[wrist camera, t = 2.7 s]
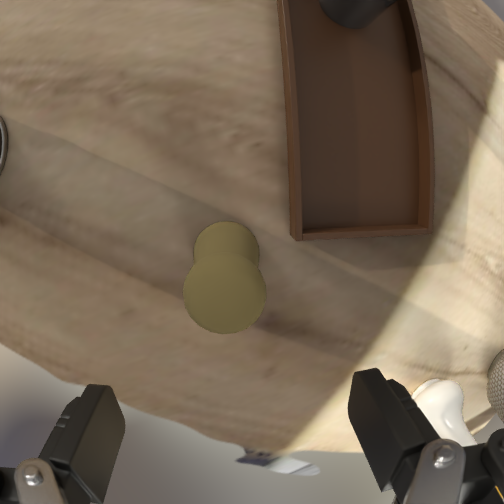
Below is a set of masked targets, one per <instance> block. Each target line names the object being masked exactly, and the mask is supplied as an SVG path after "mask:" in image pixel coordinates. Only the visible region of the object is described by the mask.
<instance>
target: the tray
mask: <svg viewBox="0 0 504 504" xmlns="http://www.w3.org/2000/svg"><path fill="white" fill-rule="evenodd" d="M277 6H278V17H279V27H280V39H281V51H282V64H283V77H284V92H285V109H286V127H287V147H288V171H289V202H290V235H291V236H292V237H293V238H294V239H295V240H296V241H302V240H303V241H306V240H324V239H342V238H360V237H379V236H398V235H418V234H432V231H433V215H434V187H435V165H434V136H433V121H432V110H431V100H430V92H429V84H428V77H427V70H426V64H425V58H424V53H423V48H422V43H421V38H420V33H419V29H418V25H417V21H416V17H415V13H414V9H413V5H412V2H411V0H397V1H396V2H395V3H394V4H393V5H392V6H390V7H389V8H388V9H387V10H386V11H385V12H384V13H382V14H381V15H380V16H379V17H378V18H377V19H376V20H375V21H373V22H372V23H371V24H370V25H369V26H367V27H365V28H362V29H351V28H346V27H343V26H341V25H339V24H337V23H335V22H334V21H332V20H331V19H330V18H329V17H328V16H327V15H326V14H325V13H324V12H323V10H322V9H321V6H320V4H319V0H277Z"/></svg>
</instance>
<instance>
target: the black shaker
mask: <svg viewBox="0 0 504 504" xmlns="http://www.w3.org/2000/svg"><path fill="white" fill-rule="evenodd" d="M396 1H397V0H319V4H320V6H321V9H322V10H323V12H324V13H325V14H326V15H327V16H328V17H329V18H330V19H331V20H332V21H334V22H335V23H337V24H339V25H341V26H343V27H346V28H351V29H362V28H365V27H367V26H369V25H370V24H371V23H372V22H373V21H375V20H376V19H377V18H378V17H379V16H380V15H381V14H382V13H384V12H385V11H386V10H387V9H388V8H389V7H390V6H392V5H393V4H394V3H395V2H396Z"/></svg>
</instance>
